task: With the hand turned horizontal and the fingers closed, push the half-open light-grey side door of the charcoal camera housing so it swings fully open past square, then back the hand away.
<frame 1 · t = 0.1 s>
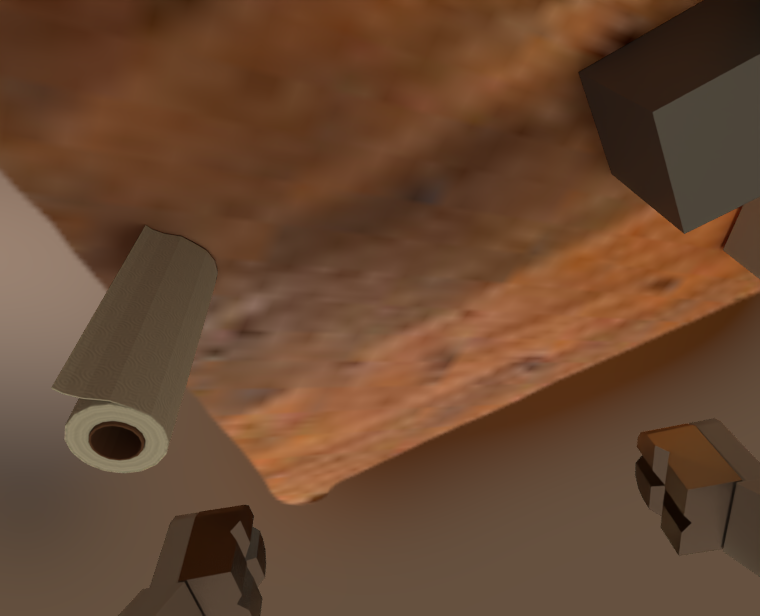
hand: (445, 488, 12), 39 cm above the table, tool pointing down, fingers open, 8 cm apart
camera housing: (688, 75, 46), on the table
paper towel roll: (184, 261, 51), on the table
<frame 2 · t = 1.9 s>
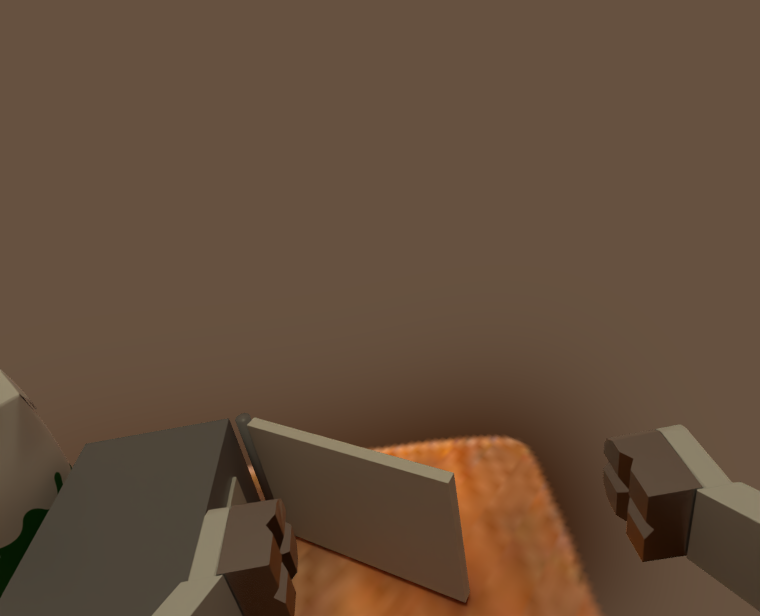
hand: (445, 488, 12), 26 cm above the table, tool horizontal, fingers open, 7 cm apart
milk carton: (65, 585, 43), on the table
side door: (350, 503, 38), point 6 cm above the table, hinge at 57.0°
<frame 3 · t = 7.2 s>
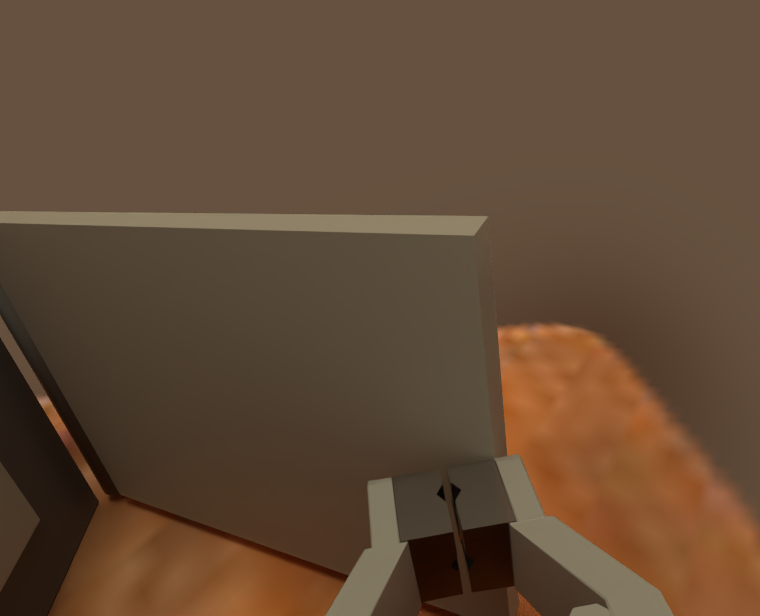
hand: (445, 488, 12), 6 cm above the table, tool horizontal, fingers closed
side door: (221, 401, 16), point 6 cm above the table, hinge at 59.0°, touching gripper
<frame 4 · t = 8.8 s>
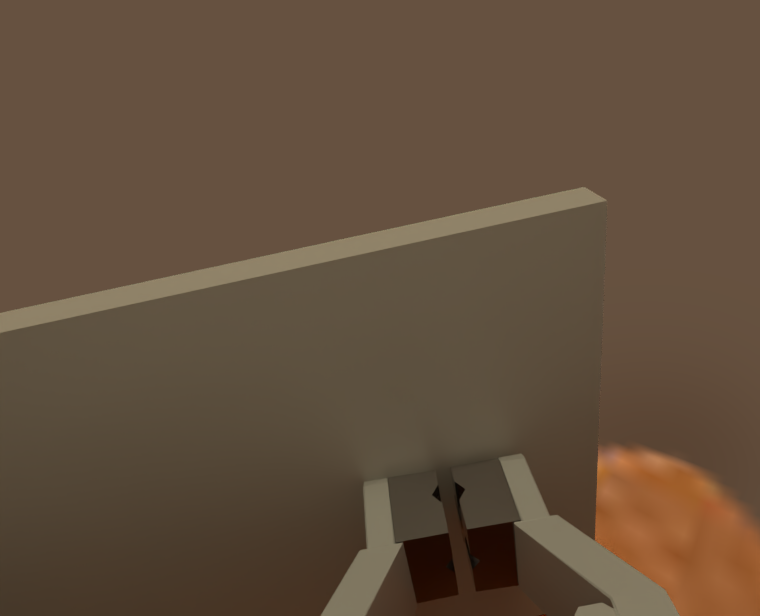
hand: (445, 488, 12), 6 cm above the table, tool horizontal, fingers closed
side door: (227, 515, 12), point 6 cm above the table, hinge at 93.8°, touching gripper
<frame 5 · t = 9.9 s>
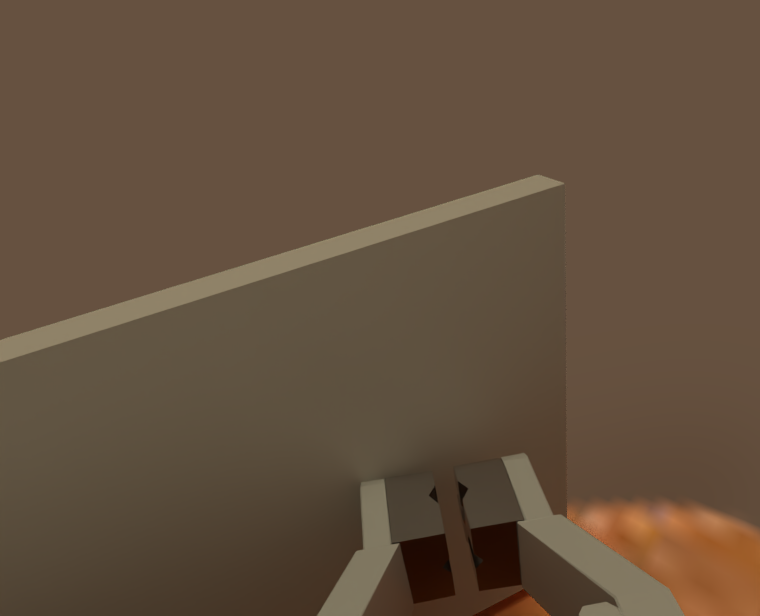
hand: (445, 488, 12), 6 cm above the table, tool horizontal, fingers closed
side door: (220, 544, 11), point 6 cm above the table, hinge at 107.4°, touching gripper
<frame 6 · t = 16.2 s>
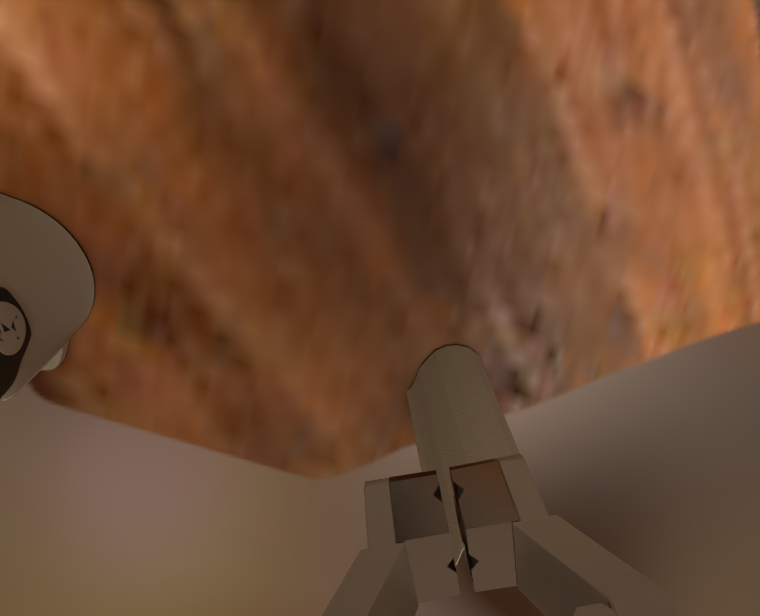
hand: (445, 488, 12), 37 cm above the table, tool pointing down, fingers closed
paper towel roll: (445, 367, 56), on the table
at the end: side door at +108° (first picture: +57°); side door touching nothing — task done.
